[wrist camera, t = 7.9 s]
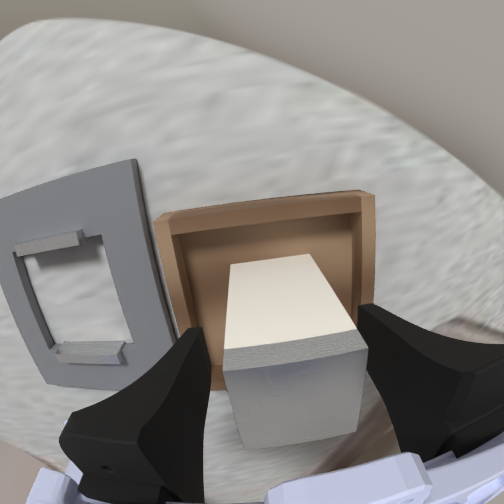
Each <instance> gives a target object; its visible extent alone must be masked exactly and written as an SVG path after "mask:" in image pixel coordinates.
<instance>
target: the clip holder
mask: <svg viewBox="0 0 504 504" xmlns="http://www.w3.org/2000/svg"><path fill="white" fill-rule="evenodd" d="M96 235H102V239H103V244H104V248H105V252H106V256H107V259H108V263H109V267H110V270H111V274H112V277H113V281H114V284H115V288H116V291H117V294H118V297H119V301H120V304H121V307H122V310H123V313H124V316H125V319H126V322H127V325H128V328H129V330H130V333H131V336H132V339H133V341H134V343H130V344H125V342H124V341H110V342H64V343H63V344H54V342H53V340H52V337H51V335H50V333H49V331H48V328H47V326H46V324H45V321H44V319H43V316H42V314H41V311H40V309H39V306H38V304H37V301H36V298H35V296H34V293H33V290H32V287H31V284H30V281H29V278H28V275H27V272H26V269H25V266H24V263H23V259H22V256H24V255H29V254H34V253H39V252H44V251H50V250H55V249H61V248H66V247H72V246H77V245H80V244H82V243H83V242H85V241H86V240H88V239H89V238H91V237H92V236H96ZM0 283H1V286H2V289H3V292H4V294H5V297H6V300H7V302H8V305H9V308H10V310H11V312H12V315H13V317H14V320H15V322H16V324H17V327H18V329H19V331H20V333H21V335H22V338H23V340H24V342H25V344H26V346H27V348H28V350H29V352H30V354H31V356H32V358H33V360H34V362H35V364H36V365H37V367H38V369H39V371H40V373H41V374H42V376H43V378H44V380H45V381H46V383H47V384H52V385H60V386H69V387H80V388H92V389H108V390H122V389H124V388H125V387H127V386H128V385H130V384H132V383H133V382H134V381H136V380H137V379H138V378H140V377H141V376H142V375H143V374H145V373H146V372H147V371H148V370H149V369H150V368H152V367H153V366H154V365H155V364H156V363H157V362H158V361H159V360H160V359H161V358H162V357H163V356H164V355H165V354H166V353H167V351H168V350H169V349H170V348H171V347H172V346H173V345H174V344H175V342H176V338H175V334H174V331H173V327H172V324H171V320H170V317H169V313H168V309H167V306H166V302H165V298H164V294H163V291H162V287H161V283H160V279H159V274H158V270H157V266H156V262H155V257H154V253H153V249H152V244H151V239H150V235H149V230H148V225H147V220H146V215H145V209H144V204H143V198H142V193H141V187H140V181H139V175H138V168H137V162H136V159H129V160H125V161H121V162H117V163H113V164H109V165H105V166H101V167H97V168H93V169H90V170H86V171H83V172H79V173H76V174H72V175H69V176H66V177H62V178H59V179H56V180H53V181H50V182H47V183H44V184H41V185H38V186H35V187H32V188H29V189H26V190H23V191H21V192H18V193H15V194H13V195H10V196H7V197H5V198H2V199H0Z"/></svg>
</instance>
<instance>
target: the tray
mask: <svg viewBox="0 0 504 504" xmlns="http://www.w3.org/2000/svg"><path fill="white" fill-rule="evenodd" d="M153 224H154V229H155V234H156V239H157V243H158V248H159V253H160V257H161V262H162V266H163V270H164V275H165V279H166V283H167V287H168V291H169V295H170V299H171V303H172V307H173V311H174V314H175V318H176V322H177V325H178V329H179V332H180V336H181V335H182V334H183V333H184V332H185V331H186V330H187V329H188V328H193V327H202V328H203V332H204V336H205V341H206V345H207V349H208V353H209V356H210V360H211V364H212V367H211V388H210V391H214V390H227V387H226V383H225V379H224V375H223V356H224V342H225V328H226V315H227V302H228V289H229V277H230V265H231V264H238V263H245V262H253V261H260V260H267V259H275V258H282V257H289V256H296V255H304V254H310V255H311V257H312V258H313V260H314V261H315V263H316V265H317V266H318V268H319V269H320V271H321V272H322V274H323V275H324V277H325V278H326V280H327V282H328V283H329V285H330V286H331V288H332V289H333V291H334V293H335V294H336V296H337V297H338V299H339V300H340V302H341V304H342V305H343V307H344V308H345V310H346V312H347V313H348V315H349V317H350V318H351V320H352V321H353V323H354V325H355V326H356V328H357V318H358V305H363V304H368V303H372V304H373V298H374V280H375V241H376V228H375V195H372V194H369V193H367V192H364V191H361V190H350V191H338V192H327V193H316V194H306V195H297V196H287V197H278V198H270V199H261V200H253V201H245V202H237V203H230V204H222V205H215V206H208V207H201V208H194V209H187V210H181V211H175V212H168V213H164V214H162V215H161V216H160V217H159V218H157V219H156V220H155V221H154V222H153Z"/></svg>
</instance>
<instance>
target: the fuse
mask: <svg viewBox="0 0 504 504" xmlns="http://www.w3.org/2000/svg"><path fill="white" fill-rule="evenodd" d="M367 357H368V346H367V344H366V343H365V341H364V339H363V338H362V336H361V335H360V333H359V331H358V330H357V328H356V326H355V325H354V323H353V321H352V320H351V318H350V317H349V315H348V313H347V312H346V310H345V308H344V307H343V305H342V304H341V302H340V300H339V299H338V297H337V296H336V294H335V293H334V291H333V289H332V288H331V286H330V285H329V283H328V282H327V280H326V278H325V277H324V275H323V274H322V272H321V271H320V269H319V268H318V266H317V265H316V263H315V261H314V260H313V258H312V257H311V255H310V254H304V255H296V256H289V257H282V258H275V259H267V260H260V261H253V262H245V263H238V264H231V265H230V277H229V289H228V302H227V315H226V328H225V342H224V356H223V375H224V379H225V383H226V387H227V390H228V394H229V398H230V402H231V405H232V409H233V412H234V416H235V420H236V423H237V427H238V430H239V433H240V437H241V440H242V444H243V447H244V450H252V449H262V448H271V447H279V446H286V445H293V444H299V443H305V442H311V441H316V440H321V439H326V438H331V437H335V436H340V435H344V434H348V433H352V432H356V430H357V425H358V419H359V414H360V408H361V402H362V395H363V389H364V381H365V374H366V366H367Z"/></svg>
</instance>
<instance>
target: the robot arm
mask: <svg viewBox="0 0 504 504" xmlns="http://www.w3.org/2000/svg"><path fill="white" fill-rule="evenodd" d="M357 330H358V331H359V333H360V335H361V336H362V338H363V339H364V341H365V343H366V344H367V346H368V357H367V366H366V370H367V371H368V373H369V375H370V377H371V379H372V380H373V382H374V384H375V386H376V388H377V390H378V391H379V393H380V395H381V397H382V399H383V401H384V403H385V405H386V408H387V410H388V413H389V416H390V418H391V421H392V424H393V427H394V430H395V433H396V436H397V439H398V443H399V447H400V450H401V453H399V454H394V455H390V456H387V457H384V458H381V459H378V460H374V461H371V462H367V463H364V464H360V465H356V466H352V467H348V468H344V469H340V470H335V471H331V472H326V473H321V474H315V475H310V476H304V477H300V478H296V479H292V480H288V481H284V482H282V483H280V484H278V485H276V486H275V487H273V488H271V489H270V490H268V492H267V494H266V496H265V498H264V502H253V503H234V504H486V503H487V502H488V501H490V500H491V499H493V498H494V497H496V496H497V495H498V494H500V493H501V492H502V491H504V344H483V343H475V342H468V341H463V340H458V339H454V338H450V337H446V336H443V335H440V334H437V333H434V332H431V331H428V330H426V329H423V328H421V327H419V326H416V325H414V324H412V323H410V322H408V321H406V320H404V319H402V318H400V317H398V316H396V315H394V314H392V313H390V312H389V311H387V310H385V309H383V308H381V307H379V306H377V305H375V304H372V303H368V304H363V305H358V318H357ZM211 367H212V364H211V360H210V356H209V353H208V349H207V345H206V341H205V336H204V332H203V328H202V327H193V328H188V329H187V330H186V331H185V332H184V333H183V334H182V335H181V337H180V338H179V339H178V340H177V341H176V342H175V344H174V345H173V346H172V347H171V348H170V349H169V350H168V351H167V353H166V354H165V355H164V356H163V357H162V358H161V359H160V360H159V361H158V362H157V363H156V364H155V365H154V366H153V367H152V368H150V369H149V370H148V371H147V372H146V373H145V374H143V375H142V376H141V377H140V378H138V379H137V380H136V381H134V382H133V383H132V384H130V385H128V386H127V387H125V388H124V389H122V390H121V391H119V392H118V393H116V394H114V395H112V396H110V397H109V398H107V399H105V400H103V401H101V402H98V403H96V404H94V405H92V406H89V407H86V408H84V409H81V410H78V411H75V412H72V414H71V415H70V417H69V419H68V420H66V421H65V423H64V424H65V427H64V429H63V431H62V433H61V435H60V437H59V444H60V446H61V448H62V450H63V451H64V453H65V454H66V455H67V457H68V458H69V459H70V462H69V464H68V467H67V469H66V472H65V474H64V473H61V472H58V471H55V470H51V469H48V468H45V467H41V469H40V471H39V473H38V476H37V478H36V480H35V483H34V485H33V487H32V489H31V492H30V494H29V496H28V499H27V501H26V504H205V502H204V483H203V439H204V426H205V419H206V413H207V407H208V401H209V395H210V388H211Z"/></svg>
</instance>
